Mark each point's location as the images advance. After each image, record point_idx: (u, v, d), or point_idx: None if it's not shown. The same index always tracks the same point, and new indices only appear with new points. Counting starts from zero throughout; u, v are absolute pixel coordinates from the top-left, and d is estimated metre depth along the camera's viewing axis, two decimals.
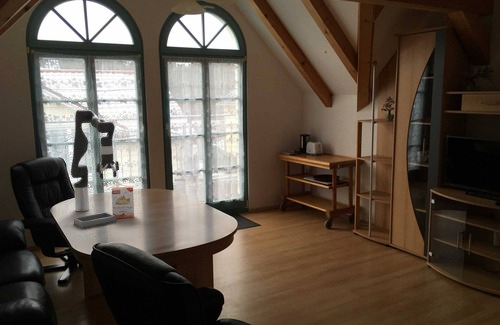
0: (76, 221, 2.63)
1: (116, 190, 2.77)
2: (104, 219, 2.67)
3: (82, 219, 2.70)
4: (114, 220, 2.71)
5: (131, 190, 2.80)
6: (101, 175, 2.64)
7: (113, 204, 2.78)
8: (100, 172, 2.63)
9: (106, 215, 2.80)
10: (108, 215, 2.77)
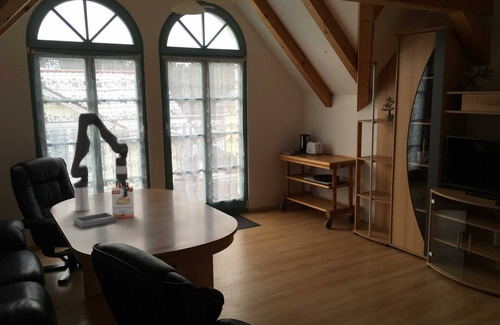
0: (76, 221, 2.63)
1: (116, 190, 2.77)
2: (104, 219, 2.67)
3: (82, 219, 2.70)
4: (114, 220, 2.71)
5: (131, 190, 2.80)
6: (126, 193, 2.78)
7: (113, 204, 2.78)
8: (127, 190, 2.77)
9: (106, 215, 2.80)
10: (108, 215, 2.77)
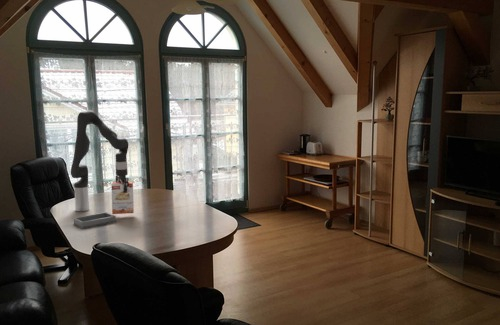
0: (76, 221, 2.63)
1: (116, 185, 2.77)
2: (104, 219, 2.67)
3: (82, 219, 2.70)
4: (114, 220, 2.71)
5: (131, 186, 2.80)
6: (126, 189, 2.78)
7: (113, 199, 2.78)
8: (126, 186, 2.77)
9: (106, 215, 2.80)
10: (108, 215, 2.77)
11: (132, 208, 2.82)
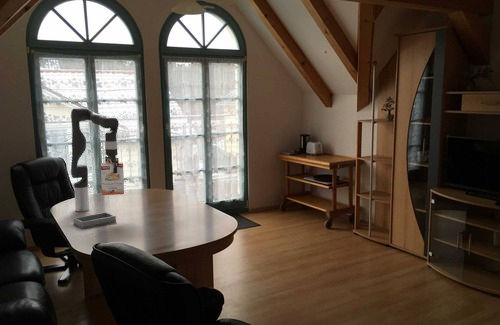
0: (76, 221, 2.63)
1: (105, 166, 2.70)
2: (104, 219, 2.67)
3: (82, 219, 2.70)
4: (114, 220, 2.71)
5: (121, 166, 2.73)
6: (116, 169, 2.72)
7: (102, 180, 2.71)
8: (116, 166, 2.71)
9: (106, 215, 2.80)
10: (108, 215, 2.77)
11: (122, 189, 2.76)
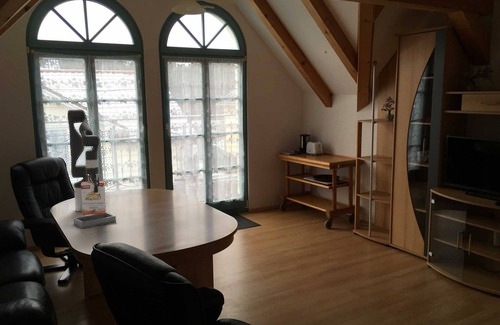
0: (76, 221, 2.63)
1: (86, 185, 2.63)
2: (104, 219, 2.67)
3: (82, 219, 2.70)
4: (114, 220, 2.71)
5: (102, 185, 2.65)
6: None
7: (83, 200, 2.64)
8: (97, 185, 2.63)
9: (106, 215, 2.80)
10: (108, 215, 2.77)
11: (103, 208, 2.68)
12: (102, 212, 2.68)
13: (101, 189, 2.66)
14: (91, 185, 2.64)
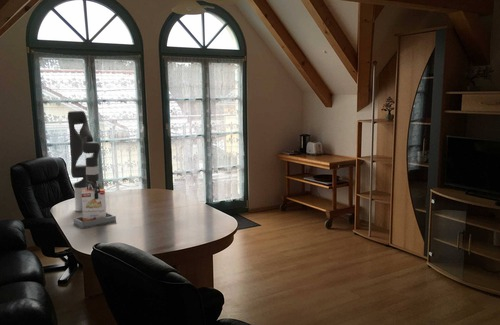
0: (76, 221, 2.63)
1: (86, 193, 2.63)
2: (104, 219, 2.67)
3: (82, 219, 2.70)
4: (114, 220, 2.71)
5: (102, 193, 2.66)
6: (97, 195, 2.64)
7: (83, 208, 2.64)
8: (97, 192, 2.64)
9: (106, 215, 2.80)
10: (108, 215, 2.77)
11: (104, 216, 2.69)
12: None
13: (102, 197, 2.66)
14: (92, 193, 2.64)
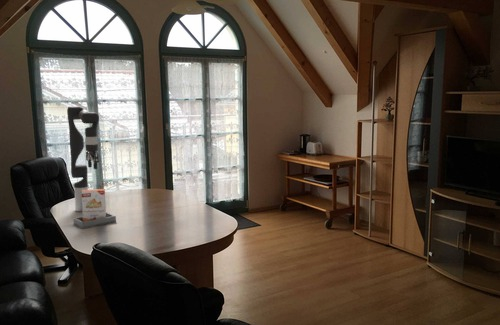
0: (76, 221, 2.63)
1: (86, 193, 2.63)
2: (104, 219, 2.67)
3: (82, 219, 2.70)
4: (114, 220, 2.71)
5: (102, 193, 2.66)
6: (96, 165, 2.68)
7: (83, 208, 2.64)
8: None
9: (106, 215, 2.80)
10: (108, 215, 2.77)
11: (104, 216, 2.69)
12: None
13: (102, 197, 2.66)
14: (92, 193, 2.64)
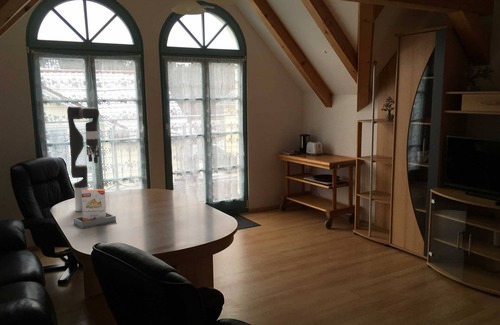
0: (76, 221, 2.63)
1: (86, 193, 2.63)
2: (104, 219, 2.67)
3: (82, 219, 2.70)
4: (114, 220, 2.71)
5: (102, 193, 2.66)
6: (97, 159, 2.74)
7: (83, 208, 2.64)
8: (97, 156, 2.73)
9: (106, 215, 2.80)
10: (108, 215, 2.77)
11: (104, 216, 2.69)
12: None
13: (102, 197, 2.66)
14: (92, 193, 2.64)
